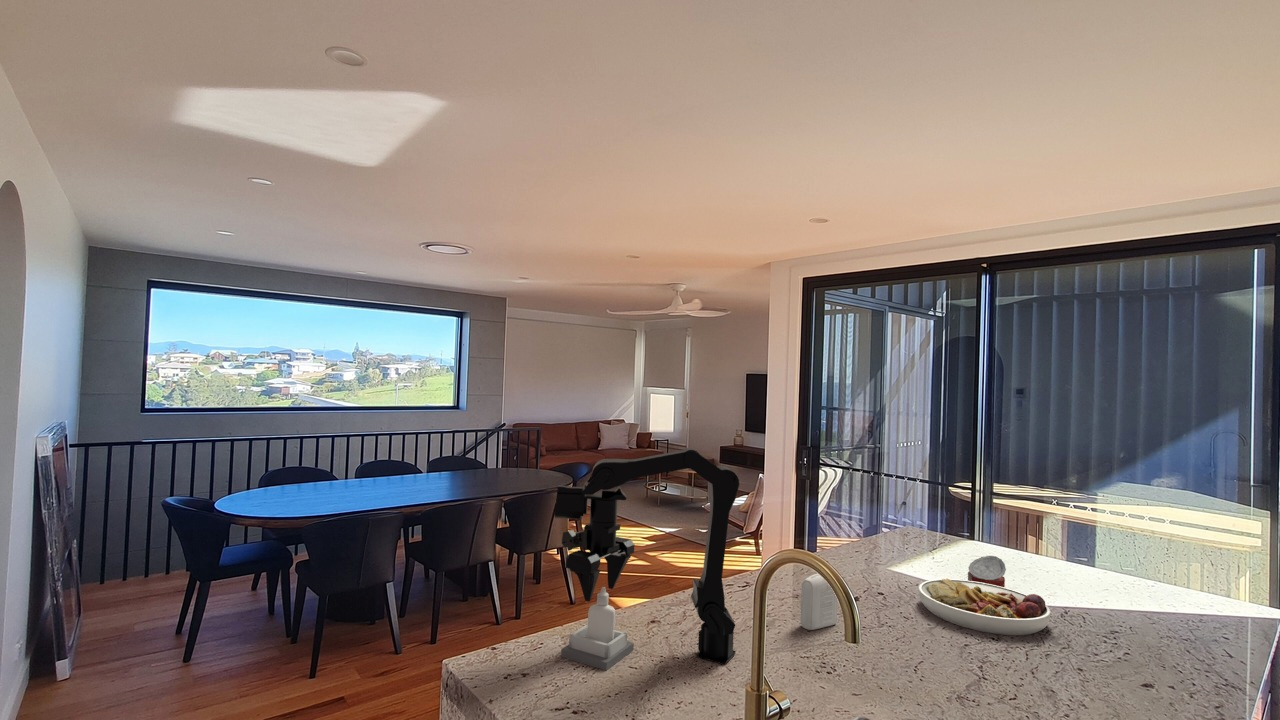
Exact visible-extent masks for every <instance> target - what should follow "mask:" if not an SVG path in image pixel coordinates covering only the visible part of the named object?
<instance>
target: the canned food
mask: <svg viewBox="0 0 1280 720" xmlns="http://www.w3.org/2000/svg"><path fill="white" fill-rule="evenodd" d="M1006 571H1007V568H1006V564H1005V562H1004V561H1003V560H1002V558H999V557H998V556H995V555H986V556H980V557H979V558H976V559H974V560H973V561H972V562H970V564H969V566H968V572H967V581H975V582H981V583H986V584H991V585H996V586H1000V587H1005V588H1006V586H1005V585H1006V584H1005V583H1006V580H1005V579H1006V578H1005V574H1006Z"/></svg>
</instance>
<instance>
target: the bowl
mask: <svg viewBox="0 0 1280 720" xmlns="http://www.w3.org/2000/svg"><path fill="white" fill-rule="evenodd" d="M918 597H919V599H920V601H921V603H922V604H923V606H924V607H925V609H927V610H928V611H929V612H930V613H932V614H933V615H935V616H936V617H938V618H940V619H941V620H944V621H946V622H949V623H951V624H954V625H957V626H960V627H963V628H967V629H968V630H969V629H970V630H972V631H973V630H974V631H978V632H983V633H988V634H995V635H1004V636H1005V635H1006V636H1027V635H1032V634H1035V633H1038V632H1040V631H1042V630H1044V628H1046V627H1047V625H1048V624H1049V623H1050V620H1051V609H1050V608H1049V606H1048V605H1046V601H1045V599H1044V598H1043V597H1042V596H1040V595H1038V594H1035V593H1031V594H1026V593H1023V592H1020V591H1018V590H1015V589H1011V588H1007V587H1005V588H1004V587H1000V586H996V585H991V584H986V583H981V582H975V581H968V579H966V580H964V579H952V578H951V579H950V578H941V579H930V580H926V581H923V582H922V583H920V584H919V585H918Z"/></svg>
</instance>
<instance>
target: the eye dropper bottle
mask: <svg viewBox="0 0 1280 720" xmlns="http://www.w3.org/2000/svg"><path fill="white" fill-rule="evenodd" d="M609 595H610V594H609V593H608V592H607V591H606V587H605V586H602V587H601V590H600V592H598V593H597V596H596V603H595V604H591V606H590V607H589V608H588V612H587V613H588V615H587V624H588V626H587V638H589V639H593V640H596V641H600V642H603V643H607V644H608V643H609V642H611V641H612V640H614V630H615V628H616V625H615V624H616V609H615V608H614V606H612V605H609V599H610V596H609Z"/></svg>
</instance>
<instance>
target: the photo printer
mask: <svg viewBox="0 0 1280 720" xmlns="http://www.w3.org/2000/svg"><path fill="white" fill-rule="evenodd" d="M801 583H802V584H801V594H800V595H801V599H800V625H801V627H802V628H804V629H805V630H807V631H808V630H809V631H812V630H818V629H822V628H826V627H827V628H828V627H830V626H834V625H836V624H837V623H838V606H839V605H838V603H839V602H838V600H839V599H838V600H837V598H836V596H835V594H834V592H833V590H832V589H831V587H830V586H829V585H828V583H827V582H826V581H825V580H824V579H823V578H822V577H821V576H820V575H819V574H818V573H814V574H812V575H810V576H808V577H806V578H805V579H804V580H803V581H802V582H801Z"/></svg>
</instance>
